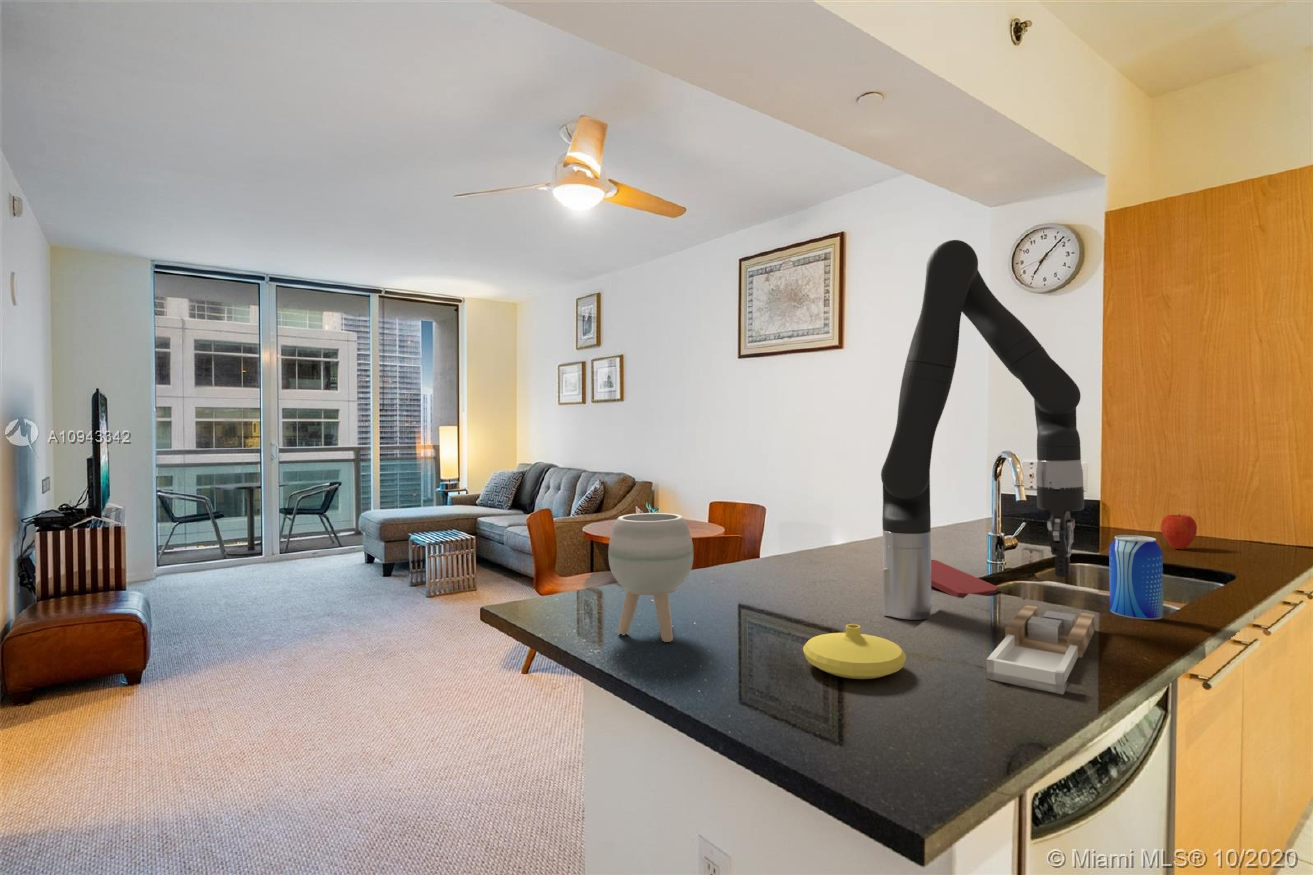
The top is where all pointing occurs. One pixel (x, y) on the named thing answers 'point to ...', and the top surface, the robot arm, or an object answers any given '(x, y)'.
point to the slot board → (1077, 636)
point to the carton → (958, 581)
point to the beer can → (1136, 577)
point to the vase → (854, 654)
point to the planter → (650, 562)
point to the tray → (1031, 666)
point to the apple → (1179, 530)
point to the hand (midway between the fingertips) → (1062, 576)
